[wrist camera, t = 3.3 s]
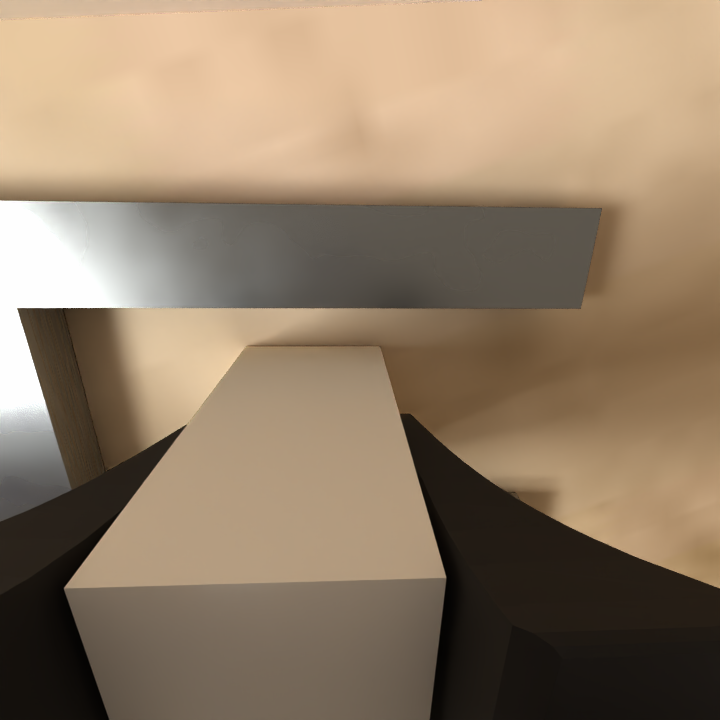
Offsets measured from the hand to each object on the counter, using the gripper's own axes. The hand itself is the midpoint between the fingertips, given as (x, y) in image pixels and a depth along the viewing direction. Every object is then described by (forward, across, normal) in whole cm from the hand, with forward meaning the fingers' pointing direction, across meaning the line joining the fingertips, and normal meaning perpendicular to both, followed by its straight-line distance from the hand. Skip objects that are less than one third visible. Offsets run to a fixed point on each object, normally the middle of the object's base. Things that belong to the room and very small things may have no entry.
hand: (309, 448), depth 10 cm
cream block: (+2, 0, 0) cm, 2 cm away
